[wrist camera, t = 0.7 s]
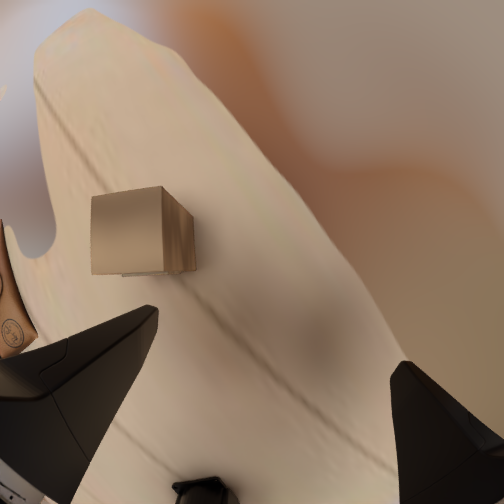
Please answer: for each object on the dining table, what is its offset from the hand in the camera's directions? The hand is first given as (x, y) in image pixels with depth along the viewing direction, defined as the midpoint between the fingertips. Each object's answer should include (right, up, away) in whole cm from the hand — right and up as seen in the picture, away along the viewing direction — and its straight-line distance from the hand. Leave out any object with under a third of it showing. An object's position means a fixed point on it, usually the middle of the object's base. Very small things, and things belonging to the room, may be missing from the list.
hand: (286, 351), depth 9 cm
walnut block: (-9, +4, +17) cm, 19 cm away
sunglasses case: (-34, -2, +17) cm, 38 cm away
